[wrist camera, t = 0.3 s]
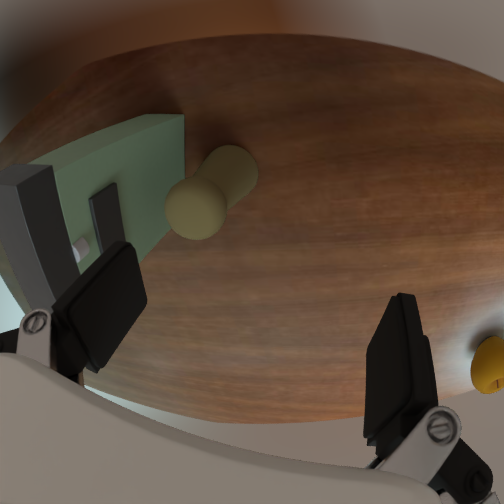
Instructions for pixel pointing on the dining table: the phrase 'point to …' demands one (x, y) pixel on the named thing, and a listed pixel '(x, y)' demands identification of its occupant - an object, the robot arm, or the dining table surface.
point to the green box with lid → (89, 202)
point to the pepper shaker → (210, 192)
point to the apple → (488, 366)
